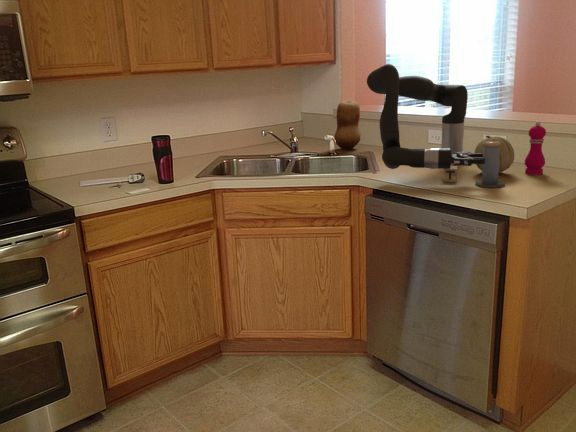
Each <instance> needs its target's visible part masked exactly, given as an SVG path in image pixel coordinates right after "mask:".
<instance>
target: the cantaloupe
mask: <svg viewBox="0 0 576 432" xmlns="http://www.w3.org/2000/svg"><path fill="white" fill-rule="evenodd" d="M487 141H497V142H500V152H499V172H498V175H499V174H500V173H502V172H504V171H506V170H508V169H509V168H511V166H512V165H513V163H514V161H515V150H514V148H513V145H512V144H511V143H510V141H509V140H508V139H505V138H504V137H501V136H490V135H485V139H483V140H481V141H480V142H479V143H478V144H477V145H476V147H475V148H474V152H473V153H483V142H487ZM475 165H476V167H477V168H478V169H479V170H480V171H481V172H482V165H483V164H475Z"/></svg>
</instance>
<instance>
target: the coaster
mask: <svg viewBox="0 0 576 432" xmlns="http://www.w3.org/2000/svg"><path fill="white" fill-rule="evenodd" d="M505 185H506V183H505V182H504V181H500V180H498V184H496V185H485V184H482V180H478V181H475V186H476V187H479V188H483V189H501V188H504V187H505Z"/></svg>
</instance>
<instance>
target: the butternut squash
mask: <svg viewBox="0 0 576 432" xmlns="http://www.w3.org/2000/svg"><path fill="white" fill-rule="evenodd" d="M360 109H361V107H360V104H359V103H358V102H357V101H351V100H343V101H341V102H339V104H338V105H337V109H336V130H335V132H334V133H335V134H334V136H333V137H334V141H335V140H336V142H335V144H336V145H337V146H338V147H339V148H340V149H341V150H342V149H346V150H351V149H354V147H356V146H357V145H358V144H359V143H360V141H361V132H360V129H359V122H360V119H361V118H360V117H361V113H360V112H361V110H360Z"/></svg>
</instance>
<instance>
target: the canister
mask: <svg viewBox="0 0 576 432" xmlns="http://www.w3.org/2000/svg"><path fill="white" fill-rule="evenodd" d="M499 152H500V142H497V141H487V142H483V158H485V164H483V165H482V171H481V173H482V174H481V181H482V184H485V185H496V184H498V181H499V174H498V172H499Z"/></svg>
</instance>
